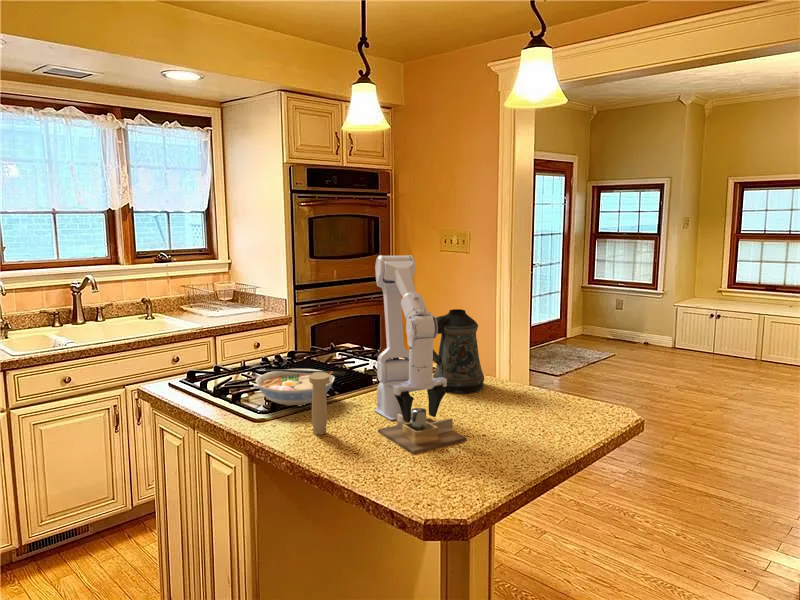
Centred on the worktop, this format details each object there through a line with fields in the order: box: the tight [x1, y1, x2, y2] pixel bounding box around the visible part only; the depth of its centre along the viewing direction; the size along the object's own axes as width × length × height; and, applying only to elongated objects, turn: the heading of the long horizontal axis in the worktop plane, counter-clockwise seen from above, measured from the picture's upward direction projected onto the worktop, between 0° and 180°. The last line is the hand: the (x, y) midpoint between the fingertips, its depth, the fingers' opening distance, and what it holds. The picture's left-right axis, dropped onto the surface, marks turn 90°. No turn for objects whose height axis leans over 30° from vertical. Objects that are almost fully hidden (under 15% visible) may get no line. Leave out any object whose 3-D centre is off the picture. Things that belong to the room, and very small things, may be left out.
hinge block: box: [377, 414, 468, 455], centre depth 149 cm, size 16×16×4 cm
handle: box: [309, 372, 329, 436], centre depth 150 cm, size 5×6×15 cm
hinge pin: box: [411, 407, 427, 431], centre depth 146 cm, size 4×4×7 cm
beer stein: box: [432, 308, 485, 395], centre depth 190 cm, size 16×19×25 cm
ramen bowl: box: [255, 368, 346, 406], centre depth 173 cm, size 25×23×8 cm
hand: (419, 418), depth 146 cm, fingers open, 7 cm apart
